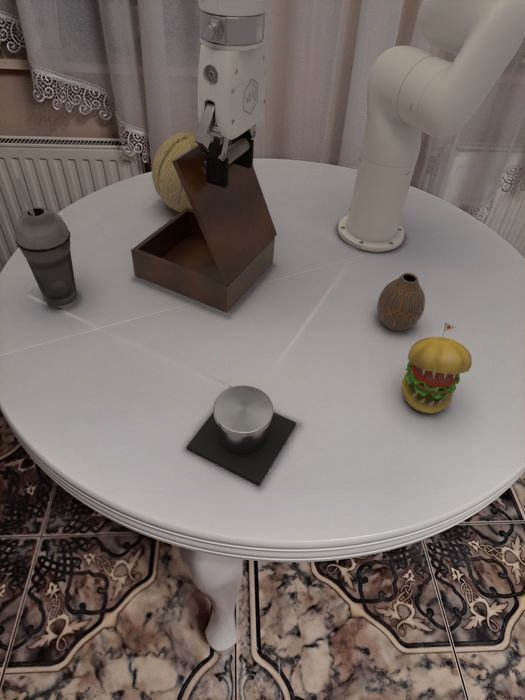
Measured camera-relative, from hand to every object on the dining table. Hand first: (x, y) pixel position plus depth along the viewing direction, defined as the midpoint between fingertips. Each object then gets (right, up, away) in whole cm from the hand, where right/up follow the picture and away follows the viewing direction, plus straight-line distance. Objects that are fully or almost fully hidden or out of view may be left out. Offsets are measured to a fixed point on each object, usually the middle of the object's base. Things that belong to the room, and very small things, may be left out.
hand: (230, 173), depth 71 cm
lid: (0, -3, +3) cm, 5 cm away
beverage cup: (-27, -17, +8) cm, 33 cm away
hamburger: (+26, -31, -2) cm, 41 cm away
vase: (+25, -21, +9) cm, 34 cm away
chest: (-5, -12, +15) cm, 20 cm away
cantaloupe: (-9, +3, +29) cm, 31 cm away
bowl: (+2, -35, -9) cm, 36 cm away
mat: (+2, -36, -8) cm, 37 cm away
